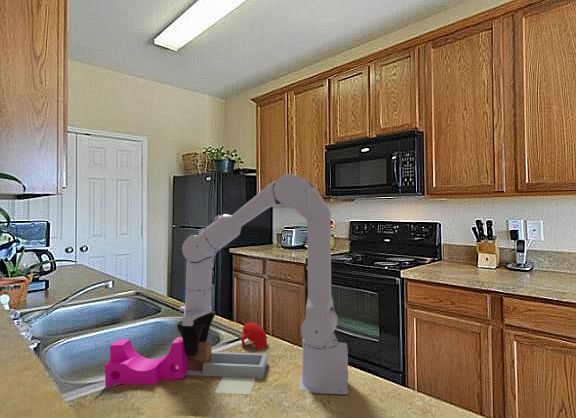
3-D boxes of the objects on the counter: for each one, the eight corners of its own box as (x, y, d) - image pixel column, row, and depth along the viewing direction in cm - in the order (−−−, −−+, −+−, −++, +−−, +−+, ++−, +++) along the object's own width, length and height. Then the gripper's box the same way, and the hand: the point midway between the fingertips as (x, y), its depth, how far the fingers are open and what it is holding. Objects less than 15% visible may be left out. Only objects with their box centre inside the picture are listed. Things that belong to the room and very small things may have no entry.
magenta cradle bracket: (105, 386, 78) (104, 349, 78) (119, 373, 84) (118, 339, 84) (179, 384, 78) (177, 346, 78) (187, 371, 84) (186, 336, 84)
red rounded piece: (232, 333, 102) (242, 326, 98) (248, 321, 107) (258, 314, 102) (249, 359, 101) (259, 353, 97) (265, 346, 105) (275, 340, 101)
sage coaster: (255, 381, 81) (255, 378, 81) (249, 397, 74) (249, 394, 74) (222, 379, 82) (222, 377, 82) (214, 395, 75) (214, 392, 75)
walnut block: (211, 363, 89) (211, 342, 89) (206, 371, 85) (206, 348, 85) (185, 362, 89) (186, 341, 89) (179, 369, 85) (180, 347, 85)
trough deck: (267, 365, 90) (267, 353, 90) (262, 380, 82) (262, 367, 82) (187, 362, 91) (187, 350, 91) (175, 376, 83) (175, 363, 83)
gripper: (191, 281, 94) (189, 337, 94) (169, 294, 80) (167, 360, 80) (219, 282, 94) (217, 338, 94) (202, 296, 79) (200, 362, 79)
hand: (196, 348), depth 87 cm, fingers open, 7 cm apart
